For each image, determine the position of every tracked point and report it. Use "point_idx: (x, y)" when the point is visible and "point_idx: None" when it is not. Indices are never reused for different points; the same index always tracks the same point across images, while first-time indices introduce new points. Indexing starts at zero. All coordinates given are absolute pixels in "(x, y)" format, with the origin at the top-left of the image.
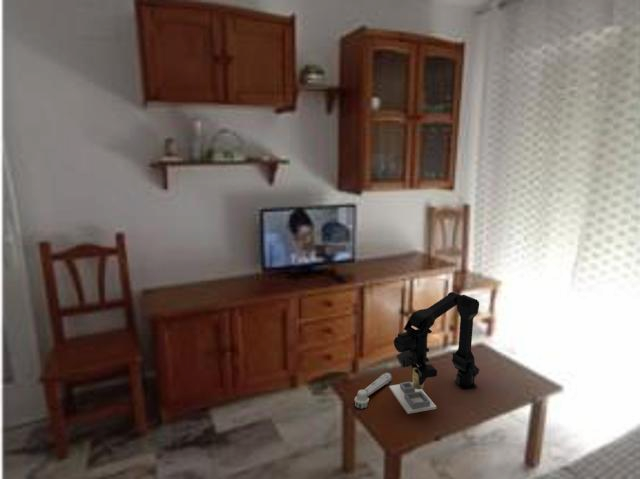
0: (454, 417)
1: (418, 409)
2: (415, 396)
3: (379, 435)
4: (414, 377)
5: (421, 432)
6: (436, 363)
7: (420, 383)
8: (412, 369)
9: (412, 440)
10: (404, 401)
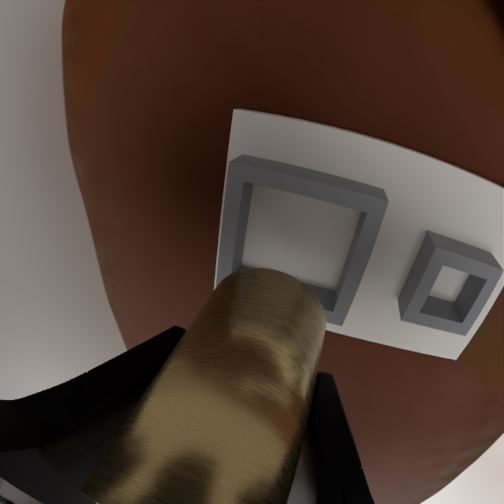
0: (143, 302)
1: (225, 190)
2: (345, 265)
3: None
4: (192, 374)
5: (91, 102)
6: (456, 456)
7: (158, 342)
8: (320, 489)
9: (70, 42)
10: (351, 163)
